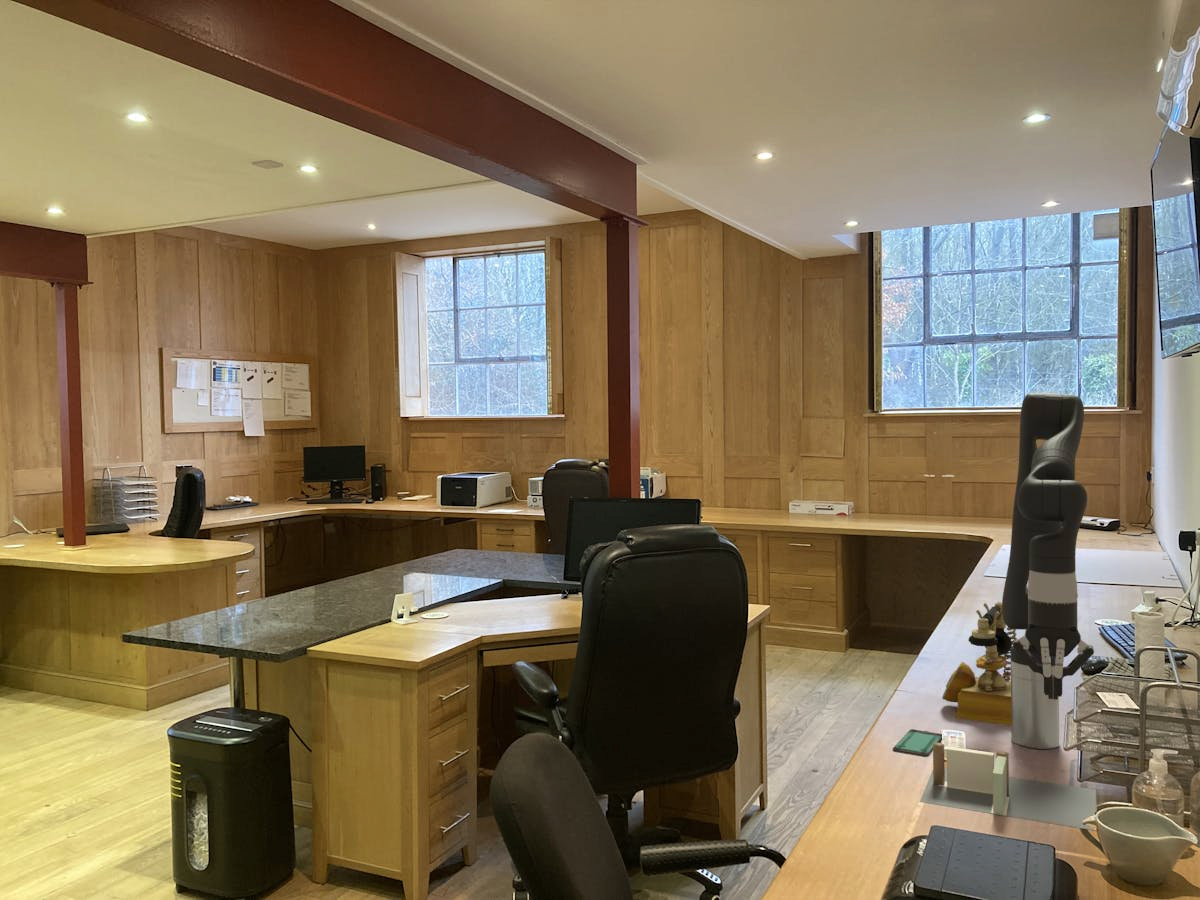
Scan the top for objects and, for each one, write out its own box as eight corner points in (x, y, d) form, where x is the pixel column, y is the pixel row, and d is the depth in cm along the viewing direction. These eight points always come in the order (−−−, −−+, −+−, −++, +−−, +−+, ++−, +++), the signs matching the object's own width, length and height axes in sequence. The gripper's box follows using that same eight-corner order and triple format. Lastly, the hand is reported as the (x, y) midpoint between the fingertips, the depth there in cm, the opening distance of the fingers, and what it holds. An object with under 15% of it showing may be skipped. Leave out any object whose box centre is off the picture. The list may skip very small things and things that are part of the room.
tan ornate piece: (962, 683, 238) (961, 588, 237) (1036, 693, 228) (1036, 593, 228) (929, 721, 208) (928, 612, 208) (1013, 734, 199) (1012, 620, 198)
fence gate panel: (997, 793, 165) (997, 755, 165) (1006, 795, 165) (1006, 757, 165) (993, 812, 157) (992, 772, 157) (1002, 814, 157) (1002, 774, 157)
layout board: (934, 767, 180) (934, 765, 180) (1095, 791, 167) (1095, 788, 167) (919, 803, 164) (919, 800, 164) (1097, 833, 151) (1097, 830, 151)
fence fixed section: (934, 780, 173) (933, 742, 173) (1009, 792, 167) (1008, 752, 167) (932, 784, 171) (932, 745, 171) (1008, 796, 165) (1008, 755, 165)
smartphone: (944, 733, 198) (927, 754, 185) (944, 739, 198) (927, 760, 185) (909, 727, 202) (890, 747, 189) (909, 733, 202) (890, 753, 189)
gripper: (1096, 595, 156) (1096, 696, 156) (1011, 590, 162) (1011, 687, 162) (1097, 604, 149) (1097, 709, 150) (1008, 598, 155) (1009, 699, 156)
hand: (1052, 697), depth 156 cm, fingers closed
